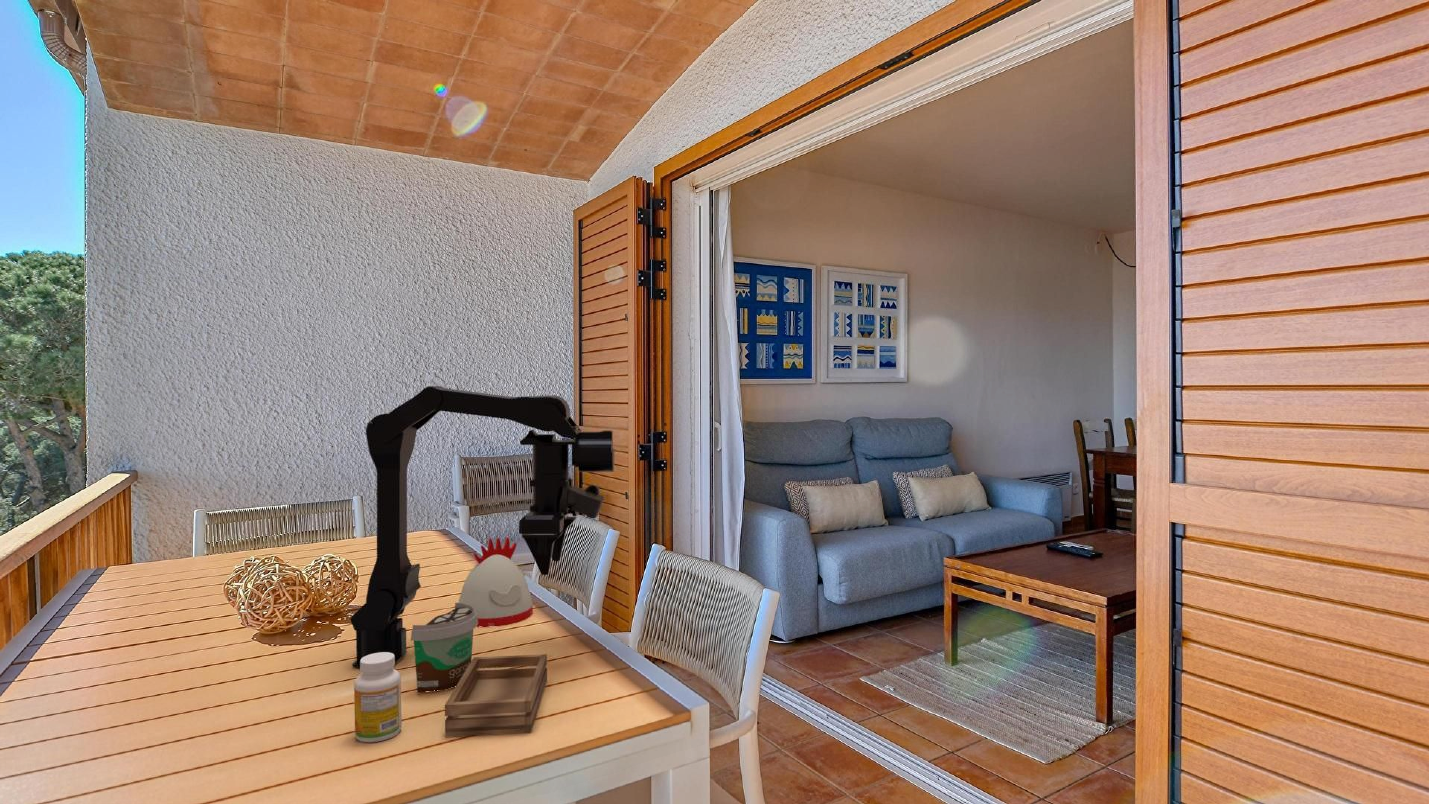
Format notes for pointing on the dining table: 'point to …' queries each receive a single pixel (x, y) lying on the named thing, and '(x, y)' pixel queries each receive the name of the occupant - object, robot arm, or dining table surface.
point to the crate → (497, 696)
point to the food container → (444, 648)
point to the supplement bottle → (377, 698)
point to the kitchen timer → (497, 587)
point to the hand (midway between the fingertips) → (550, 567)
